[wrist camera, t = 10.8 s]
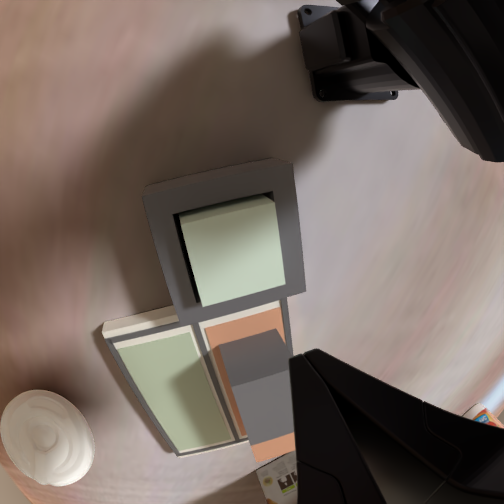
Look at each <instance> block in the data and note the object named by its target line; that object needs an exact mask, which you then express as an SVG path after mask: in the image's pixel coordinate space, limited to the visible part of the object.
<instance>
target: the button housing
mask: <svg viewBox="0 0 504 504" xmlns="http://www.w3.org/2000/svg"><path fill="white" fill-rule="evenodd" d="M256 194H263V195H264V196H266V197H267V198H269V199H270V200H272V201H274V202H275V208H276V215H277V222H278V229H279V237H280V244H281V252H282V260H283V268H284V276H285V284H284V285H281V286H277V287H274V288H270V289H267V290H263V291H260V292H256V293H253V294H249V295H245V296H242V297H238V298H235V299H231V300H227V301H223V302H220V303H216V304H212V305H209V306H205V307H203V306H202V302H201V299H200V295H199V292H198V288H197V285H196V281H195V278H192V279H191V276H190V272H189V269H188V265H187V261H186V258H185V254H184V250H183V246H182V242H181V238H180V234H179V231H178V227H177V223H176V218H175V213H179V212H183V211H187V210H191V209H195V208H199V207H204V206H208V205H212V204H216V203H220V202H225V201H229V200H233V199H238V198H242V197H247V196H251V195H256ZM142 199H143V203H144V207H145V211H146V215H147V219H148V222H149V226H150V230H151V233H152V237H153V240H154V244H155V247H156V251H157V254H158V257H159V261H160V264H161V267H162V271H163V274H164V277H165V280H166V283H167V286H168V290H169V293H170V296H171V299H172V302H173V305H174V308H175V311H176V314H177V316H178V319H179V322H180V325H181V326H185V325H189V324H193V323H197V322H200V321H204V320H208V319H212V318H216V317H219V316H223V315H227V314H230V313H234V312H238V311H241V310H245V309H248V308H252V307H255V306H259V305H262V304H266V303H269V302H272V301H276V300H279V299H283V298H286V297H289V296H293V295H296V294H299V293H302V292H306V284H305V273H304V262H303V251H302V241H301V232H300V222H299V213H298V205H297V196H296V188H295V180H294V172H293V164H292V163H290V162H286V161H282V160H279V159H275V158H270V159H264V160H259V161H254V162H248V163H243V164H238V165H233V166H228V167H224V168H219V169H214V170H210V171H205V172H201V173H196V174H192V175H188V176H183V177H179V178H175V179H171V180H167V181H163V182H159V183H155V184H152V185H148V186H146V187H145V189H144V192H143V194H142Z"/></svg>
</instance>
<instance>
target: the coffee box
mask: <svg viewBox="0 0 504 504" xmlns="http://www.w3.org/2000/svg"><path fill="white" fill-rule="evenodd" d="M256 473H257V476H258V479H259V482H260V484H261V487H262V490H263V492H264V495H265V498H266V500H267V503H268V504H297V470H296V453H295V450H294V451H291V452H289V453H287V454H286V455H284V456H282V457H280V458H279V459H277V460H275V461H273V462H271V463H269V464H268V465H266V466H264V467H262V468H260V469H258V470H257V471H256Z"/></svg>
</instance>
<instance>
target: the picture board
mask: <svg viewBox="0 0 504 504" xmlns="http://www.w3.org/2000/svg"><path fill="white" fill-rule="evenodd" d="M275 328H276V329H277V331H278V332H279V334H280V336H281V337H282V339H283V341H284V343H285V344H286V346H287V348H288V349H289V351H290V353H291V355H292V356H293V348H292V338H291V329H290V321H289V312H288V304H287V297H286V298H283V299H279V300H276V301H272V302H269V303H266V304H262V305H259V306H255V307H252V308H248V309H245V310H241V311H238V312H234V313H230V314H227V315H223V316H219V317H216V318H212V319H208V320H204V321H200V322H197V323H193V324H189V325H185V326H181V325H180V322H179V319H178V316H177V314H176V311H175V308H174V305H172V306H168V307H164V308H160V309H156V310H152V311H148V312H144V313H140V314H136V315H132V316H127V317H123V318H119V319H115V320H111V321H106V322H104V325H103V330H102V334H103V336H104V338H105V341H106V343H107V345H108V347H109V349H110V351H111V353H112V355H113V357H114V359H115V360H116V362H117V364H118V366H119V368H120V370H121V371H122V373H123V375H124V377H125V378H126V380H127V382H128V383H129V385H130V387H131V389H132V390H133V392H134V394H135V395H136V397H137V398H138V400H139V402H140V403H141V405H142V406H143V408H144V410H145V411H146V413H147V414H148V416H149V417H150V419H151V420H152V422H153V423H154V425H155V426H156V428H157V429H158V431H159V432H160V434H161V435H162V436H163V438H164V439H165V441H166V442H167V443H168V445H169V446H170V448H171V449H172V450H173V452H174V453H175V454H176V456H177V457H178V458H182V457H187V456H192V455H197V454H202V453H207V452H211V451H215V450H219V449H224V448H228V447H231V446H235V445H239V444H243V443H246V442H249V439H248V436H247V433H246V430H245V428H244V425H243V422H242V419H241V416H240V413H239V410H238V407H237V404H236V400H235V397H234V394H233V391H232V388H231V385H230V382H229V378H228V375H227V372H226V369H225V365H224V362H223V359H222V355H221V352H220V348H219V345H220V344H223V343H227V342H231V341H234V340H238V339H241V338H245V337H248V336H252V335H255V334H259V333H262V332H265V331H269V330H272V329H275Z"/></svg>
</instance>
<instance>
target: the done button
mask: <svg viewBox="0 0 504 504" xmlns="http://www.w3.org/2000/svg"><path fill="white" fill-rule="evenodd" d="M179 216H180V222H181V227H182V231H183V235H184V239H185V243H186V247H187V251H188V255H189V259H190V262H191V266H192V270H193V274H194V277H195V281H196V285H197V288H198V292H199V295H200V299H201V302H202V306H203V307H205V306H209V305H212V304H216V303H220V302H223V301H227V300H231V299H235V298H238V297H242V296H245V295H249V294H253V293H256V292H260V291H263V290H267V289H270V288H274V287H277V286H281V285H284V284H285V276H284V268H283V260H282V252H281V244H280V237H279V229H278V222H277V215H276V208H275V202H274V201H272V200H270V199H269V198H267V197H266V196H264V195H263V194H256V195H251V196H247V197H242V198H238V199H233V200H229V201H225V202H220V203H216V204H212V205H208V206H204V207H199V208H195V209H191V210H187V211H183V212H179Z"/></svg>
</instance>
